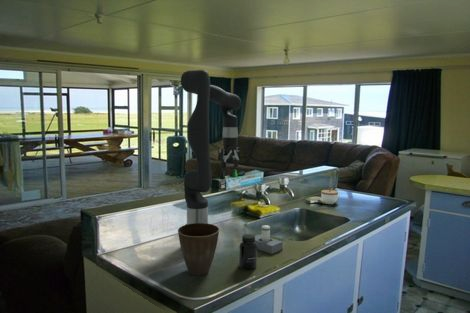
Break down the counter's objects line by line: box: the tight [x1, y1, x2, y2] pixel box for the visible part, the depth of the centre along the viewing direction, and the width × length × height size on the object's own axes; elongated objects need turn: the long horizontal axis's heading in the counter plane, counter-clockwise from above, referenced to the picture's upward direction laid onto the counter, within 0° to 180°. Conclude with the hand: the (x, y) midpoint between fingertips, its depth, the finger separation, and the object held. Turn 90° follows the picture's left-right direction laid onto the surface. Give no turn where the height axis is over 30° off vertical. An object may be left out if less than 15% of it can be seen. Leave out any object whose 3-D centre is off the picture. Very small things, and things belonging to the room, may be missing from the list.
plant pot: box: [177, 223, 220, 276], centre depth 132 cm, size 15×15×16 cm
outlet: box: [254, 234, 283, 255], centre depth 156 cm, size 7×13×4 cm, turn 46°
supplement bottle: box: [238, 233, 258, 271], centre depth 137 cm, size 7×7×12 cm
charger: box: [261, 224, 271, 243], centre depth 156 cm, size 4×4×10 cm
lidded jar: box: [320, 188, 339, 205], centre depth 235 cm, size 11×11×9 cm
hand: (229, 168), depth 181 cm, fingers open, 8 cm apart
